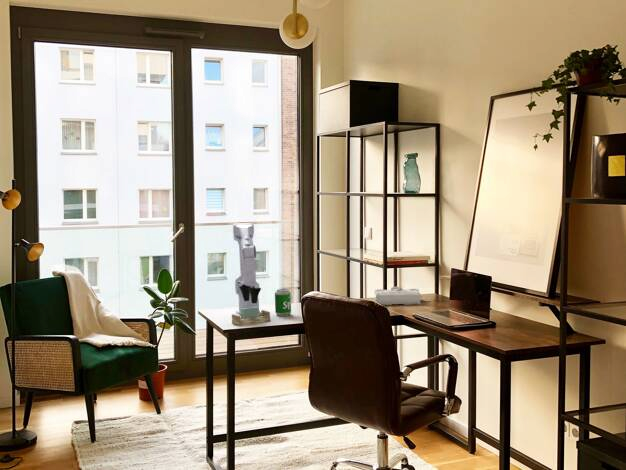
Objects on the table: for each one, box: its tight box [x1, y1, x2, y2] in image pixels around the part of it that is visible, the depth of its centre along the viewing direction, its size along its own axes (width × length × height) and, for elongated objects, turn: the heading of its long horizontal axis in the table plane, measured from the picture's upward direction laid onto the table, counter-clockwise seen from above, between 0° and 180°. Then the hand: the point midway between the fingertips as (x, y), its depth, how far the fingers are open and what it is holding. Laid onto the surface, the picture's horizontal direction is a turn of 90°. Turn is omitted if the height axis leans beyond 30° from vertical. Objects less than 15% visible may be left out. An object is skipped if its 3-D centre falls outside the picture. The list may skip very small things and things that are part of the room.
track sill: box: [231, 309, 271, 327], centre depth 324 cm, size 16×6×4 cm, turn 123°
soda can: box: [274, 288, 292, 317], centre depth 338 cm, size 8×8×12 cm
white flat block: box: [374, 286, 430, 306], centre depth 364 cm, size 19×28×8 cm
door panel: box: [240, 306, 260, 319], centre depth 323 cm, size 8×3×6 cm, turn 123°
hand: (250, 302), depth 323 cm, fingers open, 7 cm apart
